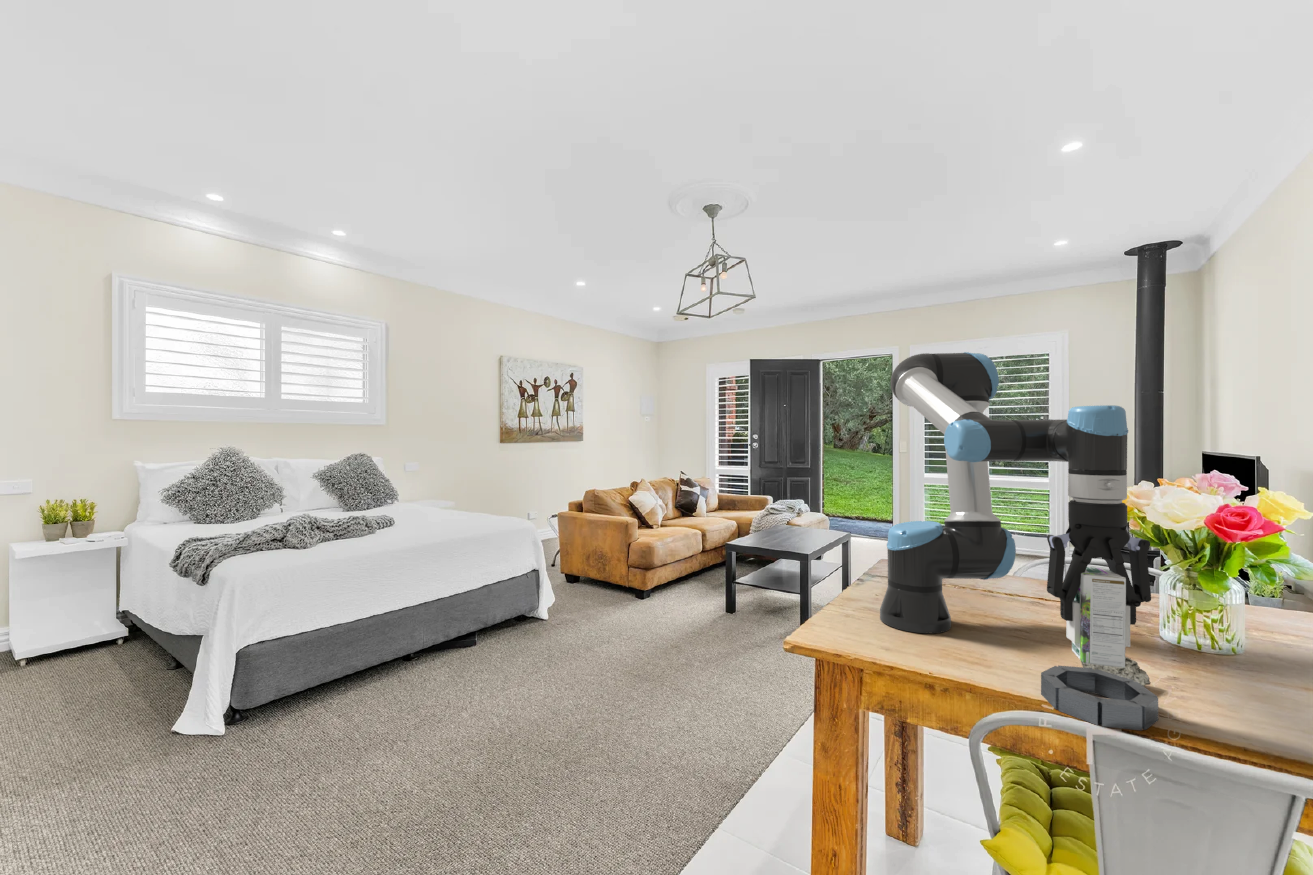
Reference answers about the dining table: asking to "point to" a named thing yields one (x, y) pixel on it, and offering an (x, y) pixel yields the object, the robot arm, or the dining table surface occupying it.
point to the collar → (1123, 710)
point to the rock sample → (1124, 671)
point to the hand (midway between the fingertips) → (1097, 641)
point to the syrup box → (1101, 618)
